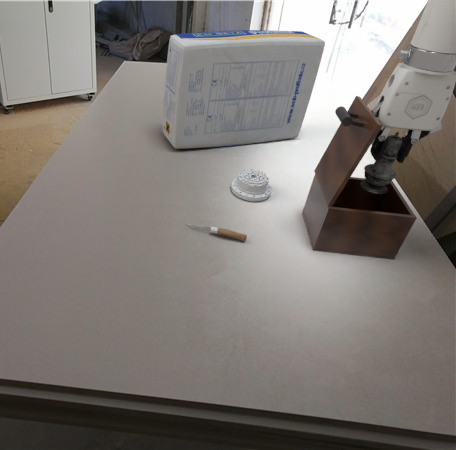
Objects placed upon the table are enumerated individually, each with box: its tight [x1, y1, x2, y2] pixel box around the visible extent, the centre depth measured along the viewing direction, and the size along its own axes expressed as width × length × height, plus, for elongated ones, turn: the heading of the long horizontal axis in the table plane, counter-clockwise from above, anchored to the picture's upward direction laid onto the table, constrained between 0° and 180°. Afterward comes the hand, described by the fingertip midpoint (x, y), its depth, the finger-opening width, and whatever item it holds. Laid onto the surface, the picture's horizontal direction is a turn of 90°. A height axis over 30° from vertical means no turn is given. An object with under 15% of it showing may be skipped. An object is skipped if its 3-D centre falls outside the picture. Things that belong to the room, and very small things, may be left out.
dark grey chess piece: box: [360, 131, 403, 194], centre depth 78 cm, size 6×6×12 cm
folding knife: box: [184, 223, 248, 243], centre depth 87 cm, size 14×2×2 cm, turn 72°
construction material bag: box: [162, 29, 326, 150], centre depth 117 cm, size 43×12×30 cm, turn 108°
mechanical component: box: [230, 168, 273, 202], centre depth 101 cm, size 10×4×10 cm
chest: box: [301, 173, 418, 260], centre depth 86 cm, size 17×14×11 cm
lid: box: [313, 95, 383, 207], centre depth 78 cm, size 17×14×5 cm
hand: (386, 157), depth 78 cm, fingers closed on dark grey chess piece, 3 cm apart
